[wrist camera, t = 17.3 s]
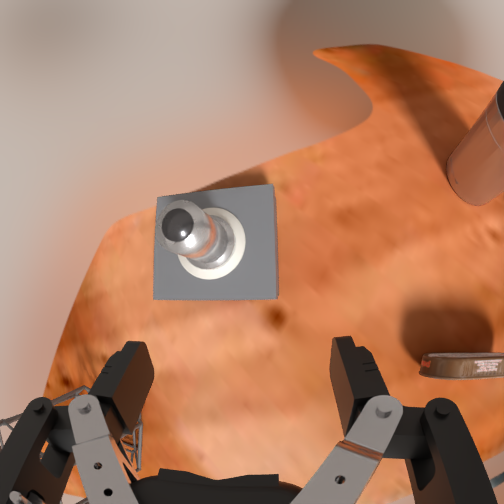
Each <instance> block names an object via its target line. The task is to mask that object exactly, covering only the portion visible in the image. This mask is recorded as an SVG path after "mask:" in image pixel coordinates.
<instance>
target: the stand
mask: <svg viewBox="0 0 504 504" xmlns="http://www.w3.org/2000/svg"><path fill="white" fill-rule="evenodd" d="M178 200H187V201H190V202H193V203H194V204H195V205H197V206H198V207H199V208H201V209H202V210H203V211H204V212H206V213H207V214H208V215H215V216H218V217H221V218H222V219H224V220H225V221H226V222H227V223H229V225H230V226H231V227H232V228H233V230H234V233H235V236H236V247H235V251H234V254H233V256H232V257H231V259H230V260H229V261H228V262H227V263H226V264H225V265H224V266H222V267H220V268H218V269H214V270H204V269H200V268H197V267H195V266H194V265H192V264H191V263H190V262H189V261H188V260H187V258H186V257H184V256H181V255H178V254H175V253H172V252H170V251H167V250H165V249H164V248H163V247H162V246H161V245H160V244H159V242H158V240H157V238H156V233H155V247H154V284H153V300H268V299H278V296H279V275H278V240H277V212H276V198H275V192H274V186H273V184H267V185H255V186H245V187H235V188H226V189H217V190H208V191H200V192H192V193H184V194H176V195H169V196H162V197H158V198H157V210H156V221H157V218H158V216H159V214H160V213H161V211H162V210H163V209H164V208H165V207H166V206H167V205H168V204H170V203H172V202H174V201H178Z"/></svg>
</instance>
